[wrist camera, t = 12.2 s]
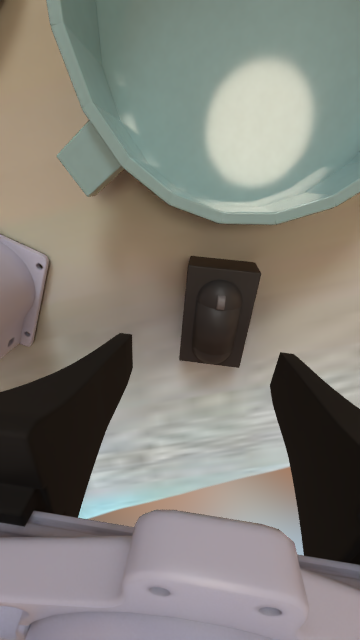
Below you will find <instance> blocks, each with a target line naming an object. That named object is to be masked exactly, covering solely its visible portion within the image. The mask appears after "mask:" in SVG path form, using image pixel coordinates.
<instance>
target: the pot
mask: <svg viewBox="0 0 360 640" xmlns="http://www.w3.org/2000/svg"><path fill="white" fill-rule="evenodd" d="M46 1H47V7H48V14H49V20H50V25H51V29H52V32H53V34H54V37H55V40H56V42H57V45H58V47H59V50H60V53H61V55H62V58H63V61H64V63H65V66H66V68H67V71H68V74H69V76H70V79H71V81H72V84H73V87H74V89H75V92H76V95H77V97H78V100H79V102H80V105H81V108H82V110H83V112H84V113H85V114H86V116H87V117H88V119H89V121H88V122H87V123H86V124H85V125H84V127H83V128H82V129H81V130H80V131H79V132H78V133H77V134H76V135H75V136H74V137H73V138H72V140H71V141H70V142H69V143H68V144H67V145H66V146H65V147H64V148H63V149H62V150H61V151H60V153H59V154H58V155H57V158H58V159H59V160H60V162H61V163H62V164H63V166H64V167H65V168H66V170H67V171H68V172H69V173H70V175H71V176H72V177H73V179H74V180H75V181H76V183H77V184H78V185H79V186H80V188H81V189H82V190H83V192H84V193H85V194H86V196H87V197H91V196H95V195H97V194H98V193H99V192H100V191H101V190H102V189H103V188H104V187H105V186H106V185H107V184H108V183H110V182H111V181H112V180H113V179H114V178H115V177H116V176H117V175H118V174H119V173H120V172H121V171H123V170H124V169H125V170H126V171H127V172H129V173H130V174H131V175H132V176H134V177H135V178H136V179H137V180H138V181H140V182H141V183H142V184H143V185H145V186H146V187H147V188H148V189H150V190H151V191H152V192H153V193H155V194H156V195H157V196H158V197H159V198H161V199H162V200H163V201H164V202H166V203H167V204H169V205H170V206H173V207H176V208H178V209H181V210H184V211H186V212H189V213H192V214H194V215H197V216H200V217H202V218H205V219H208V220H210V221H213V222H216V223H218V224H246V225H277V224H281V223H284V222H288V221H291V220H294V219H298V218H301V217H304V216H308V215H311V214H315V213H318V212H321V211H325V210H328V209H332V208H334V207H337V206H338V205H340V204H341V203H343V202H345V201H346V200H348V199H350V198H351V197H353V196H354V195H356V194H358V193H359V192H360V0H46Z"/></svg>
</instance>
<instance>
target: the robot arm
mask: <svg viewBox="0 0 360 640" xmlns="http://www.w3.org/2000/svg"><path fill="white" fill-rule="evenodd" d="M39 264H41V265H42V266H43V268H41V267H40V266H39ZM48 265H49V259H48V257H47V256H46V255H45V254H43V253H40V252H38V251H36V250H34V249H32V248H29V247H27V246H25V245H23V244H21V243H18V242H16V241H14V240H12V239H10V238H7V237H5V236H3V235H1V234H0V359H1V358H2V357H3V356H4V355H6V354H7V353H8V352H9V351H11V350H12V349H13V348H14V347H15V346H17V345H18V344H22V345H24V346H31V345H32V344H33V341H34V336H35V331H36V326H37V321H38V316H39V311H40V306H41V301H42V296H43V291H44V286H45V280H46V275H47V270H48ZM28 332H29V333H30V334H29V333H28ZM132 368H133V361H132V335H131V334H123V333H119V334H118V335H116V336H115V337H113V338H112V339H111V340H109V341H108V342H106V343H105V344H103V345H102V346H100V347H99V348H98V349H96V350H95V351H93V352H92V353H90V354H88V355H87V356H85V357H83V358H82V359H80V360H78V361H77V362H75V363H73V364H71V365H69V366H67V367H65V368H63V369H61V370H59V371H57V372H55V373H53V374H51V375H48V376H46V377H43V378H41V379H38V380H36V381H33V382H31V383H28V384H25V385H22V386H19V387H16V388H13V389H10V390H6V391H3V392H0V640H360V409H359V408H358V407H356V406H355V405H353V404H352V403H351V402H349V401H348V400H347V399H345V398H344V397H343V396H342V395H340V394H339V393H338V392H337V391H335V390H334V389H333V388H332V387H330V386H329V385H328V384H327V383H326V382H325V381H323V380H322V379H321V378H320V377H319V376H318V375H317V374H315V373H314V372H313V371H312V370H311V369H310V368H309V367H308V366H307V365H306V364H304V363H303V362H302V361H301V360H300V359H299V358H298V357H297V356H295V355H294V354H289V353H281V352H280V355H279V358H278V361H277V365H276V368H275V371H274V374H273V377H272V381H271V384H270V389H271V396H272V402H273V406H274V410H275V413H276V417H277V420H278V423H279V426H280V430H281V433H282V436H283V440H284V443H285V446H286V450H287V453H288V457H289V462H290V467H291V472H292V477H293V483H294V488H295V494H296V500H297V507H298V512H299V513H298V514H299V520H300V527H301V534H302V543H303V551H304V556H303V555H297V552H296V548H295V544H294V542H293V541H292V540H291V539H289V538H288V537H287V536H286V535H285V534H284V533H282V532H281V531H280V530H279V529H276V528H273V527H269V526H266V525H263V524H258V523H252V522H246V521H239V520H233V519H227V518H221V517H214V516H208V515H202V514H196V513H190V512H183V511H177V510H154V511H151V512H149V513H146V514H143V515H142V516H140V517H139V519H138V521H137V522H136V524H135V526H134V527H129V526H124V525H118V524H112V523H106V522H100V521H94V520H88V519H82V518H78V515H79V512H80V508H81V505H82V501H83V498H84V495H85V492H86V489H87V485H88V482H89V479H90V476H91V473H92V470H93V467H94V464H95V461H96V458H97V455H98V452H99V449H100V446H101V443H102V440H103V437H104V435H105V432H106V429H107V427H108V425H109V422H110V420H111V418H112V416H113V414H114V412H115V410H116V408H117V406H118V403H119V401H120V399H121V397H122V395H123V393H124V391H125V389H126V386H127V384H128V381H129V378H130V375H131V371H132Z"/></svg>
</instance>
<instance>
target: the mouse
mask: <svg viewBox="0 0 360 640" xmlns="http://www.w3.org/2000/svg"><path fill="white" fill-rule="evenodd" d="M260 276H261V272H260V271H259V269H258V267H257V265H256V264H255V263H253V262H244V261H234V260H224V259H215V258H205V257H195V256H191V257H190V261H189V265H188V272H187V283H186V293H185V304H184V315H183V325H182V336H181V347H180V357H179V360H182V361H190V362H198V363H206V364H214V365H222V366H230V367H237V368H239V366H240V362H241V358H242V353H243V349H244V345H245V340H246V336H247V332H248V328H249V323H250V319H251V315H252V311H253V306H254V302H255V298H256V294H257V289H258V285H259V281H260Z"/></svg>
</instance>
